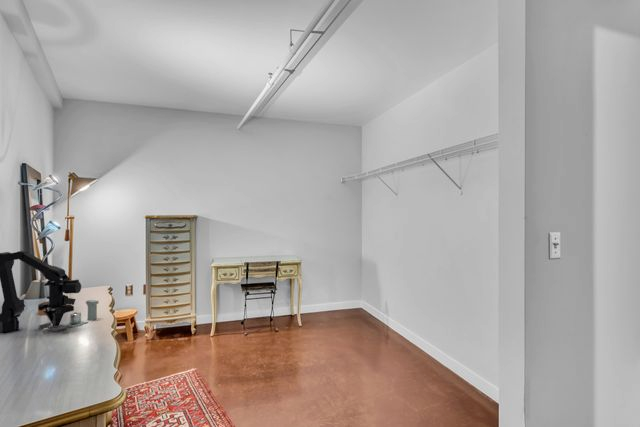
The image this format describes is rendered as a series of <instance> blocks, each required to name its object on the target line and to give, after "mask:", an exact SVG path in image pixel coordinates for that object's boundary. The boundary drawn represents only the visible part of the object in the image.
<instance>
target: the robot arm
mask: <svg viewBox="0 0 640 427" xmlns="http://www.w3.org/2000/svg"><path fill="white" fill-rule="evenodd" d="M16 260H19V261H22V263H25V264H26V265H28V266H30V267H32V268H33V269H35V270H37V271H39V272H40V273H41V274H42V276H43V277H44V278H45V279H46V280H47V282H46V283H44V284H43V286H45V287H47V286H48V296H46V300H48V301H49V302H48V303H43V304H40V305H39V306H37V311H38V310H43V309H45V311H44V313H45V314H46V315H45V316H47V318H48V320H49V321H50V322H51V324H52V317H54V320H55V323H56V325H59V324H61V321H62V319H63V316H64V315H65V314H66V313H70V312H74V310H75V306H74V305H75V302H76V298H72V297H69V296H68V295H66V294H80V292H81V290H82V284H81V281H80V279H71V278H70V277H69V276H68V275H67V273H66V270H65V269H63V268H62V267H58V266H55V265H51V264H48V263H47V262H45V261H44V260H41V259H40V258H38V257H37V256H36V255H33V254H32V253H30V252H29V251H27V250H19V251H16V252H9V251H4V252H0V286H1V291H2V295H3V302H2V306H1V313H0V334H3V335H4V334H5V335H6V334H10V333H13V332H18V331H21V329H20V321H19V317H21V315H22V313H23V312H24V310H25V307H26V304H25V300H24V298H23V299H20V298H19V297H18V294H17V289H16V284H15V279H14V275H13V274H14V273H13V266H14V265H15V261H16ZM66 304H71V305H66ZM63 305H64V306H63Z"/></svg>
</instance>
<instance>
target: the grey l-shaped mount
mask: <svg viewBox="0 0 640 427" xmlns="http://www.w3.org/2000/svg"><path fill="white" fill-rule="evenodd" d="M85 304H86V306H87V321H84V320H81V323H79V324H75V325H70V322H68V323H65V324H63V325H66V328H67V327H68V328H72V329H73V328H76V327H79V326H82V325H83V326H84V325H87V324H88V323H89V322H88V321H90V322H91V321H95V320H97V319H98V318H97V317H98V314H97V308H98V304H99V300H96V299H95V300H94V299H90V300H85Z"/></svg>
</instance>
